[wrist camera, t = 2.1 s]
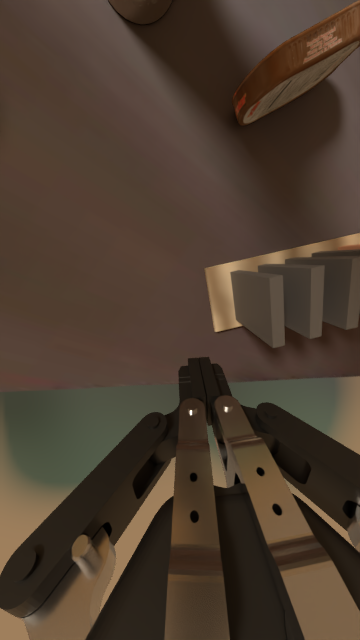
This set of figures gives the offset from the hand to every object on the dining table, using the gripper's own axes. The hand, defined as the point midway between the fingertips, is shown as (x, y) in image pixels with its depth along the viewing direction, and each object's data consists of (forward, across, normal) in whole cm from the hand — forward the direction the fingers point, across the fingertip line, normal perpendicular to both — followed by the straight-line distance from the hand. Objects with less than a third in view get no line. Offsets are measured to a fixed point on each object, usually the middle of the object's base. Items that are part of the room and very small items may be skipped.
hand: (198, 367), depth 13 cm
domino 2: (+22, +15, -1) cm, 26 cm away
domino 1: (+21, +10, -2) cm, 24 cm away
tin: (+26, +15, +25) cm, 39 cm away
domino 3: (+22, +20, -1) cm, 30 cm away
